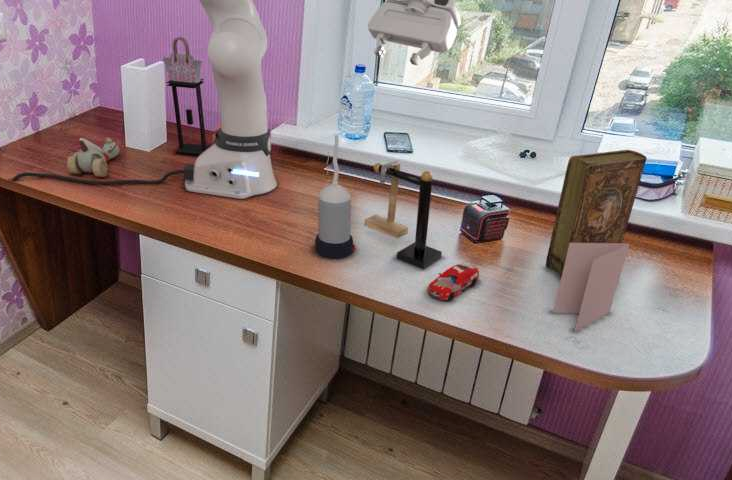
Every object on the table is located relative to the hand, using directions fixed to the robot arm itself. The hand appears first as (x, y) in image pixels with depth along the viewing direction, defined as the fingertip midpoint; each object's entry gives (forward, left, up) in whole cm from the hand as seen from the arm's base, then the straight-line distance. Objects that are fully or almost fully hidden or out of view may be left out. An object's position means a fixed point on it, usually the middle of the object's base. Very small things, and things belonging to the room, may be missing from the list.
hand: (395, 59), depth 138 cm
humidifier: (-11, -22, -36) cm, 43 cm away
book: (+43, -23, -36) cm, 61 cm away
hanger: (0, -19, -32) cm, 37 cm away
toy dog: (-76, +16, -36) cm, 85 cm away
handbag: (-56, +33, -36) cm, 74 cm away
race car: (+14, -35, -36) cm, 52 cm away
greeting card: (+39, -44, -36) cm, 69 cm away
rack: (+4, -21, -35) cm, 41 cm away
